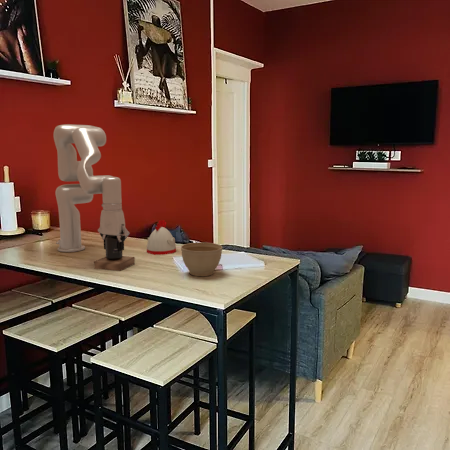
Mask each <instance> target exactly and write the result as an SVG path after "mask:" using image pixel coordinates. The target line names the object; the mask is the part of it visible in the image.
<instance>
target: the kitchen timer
mask: <svg viewBox="0 0 450 450" xmlns="http://www.w3.org/2000/svg"><path fill="white" fill-rule="evenodd" d="M167 223H168V222H166V220H165V219H160V220H158V223H156V226H155V227H154V230H153V231H152V232H151V234H150V235H149V237H147V244H146V253H147V254H148V255H158V256H161V255H162V256H163V255H171V254H174V253H176V252H177V245H176V239H175V237H173V235H172V233H171V231H170V230H168V229H167V228H166V227H167Z"/></svg>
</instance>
